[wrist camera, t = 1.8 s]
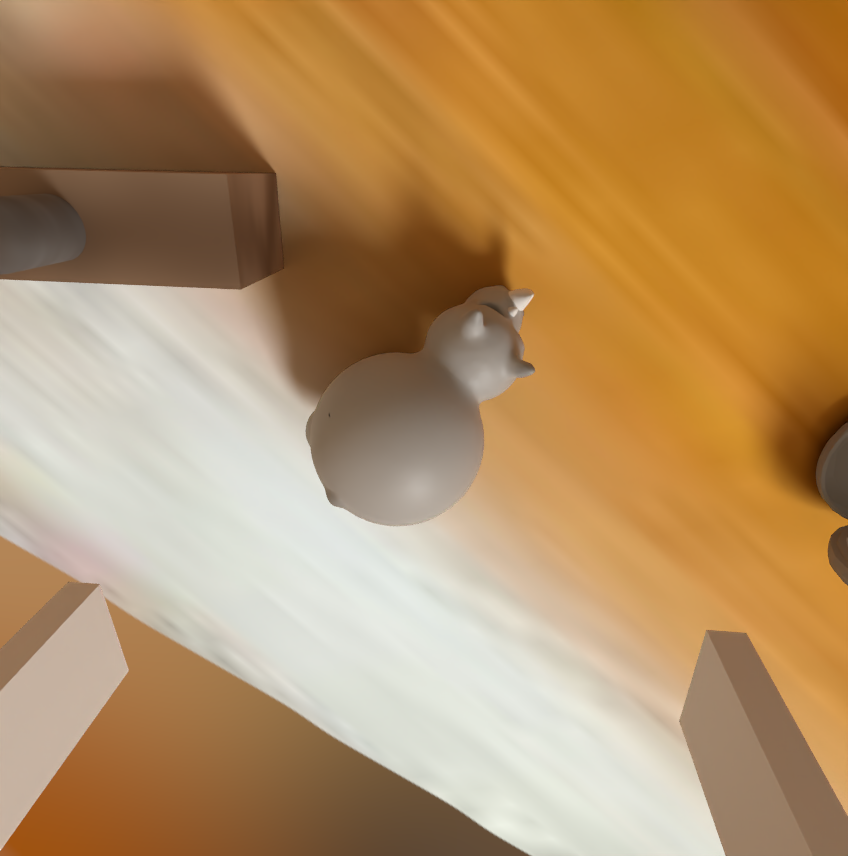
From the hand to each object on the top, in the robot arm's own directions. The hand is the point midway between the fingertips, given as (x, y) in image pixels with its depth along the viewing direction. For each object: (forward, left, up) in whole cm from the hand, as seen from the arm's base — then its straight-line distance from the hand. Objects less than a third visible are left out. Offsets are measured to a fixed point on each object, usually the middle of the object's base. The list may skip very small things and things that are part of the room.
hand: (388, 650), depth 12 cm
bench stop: (-7, -15, -17) cm, 23 cm away
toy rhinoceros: (0, 0, -17) cm, 17 cm away
